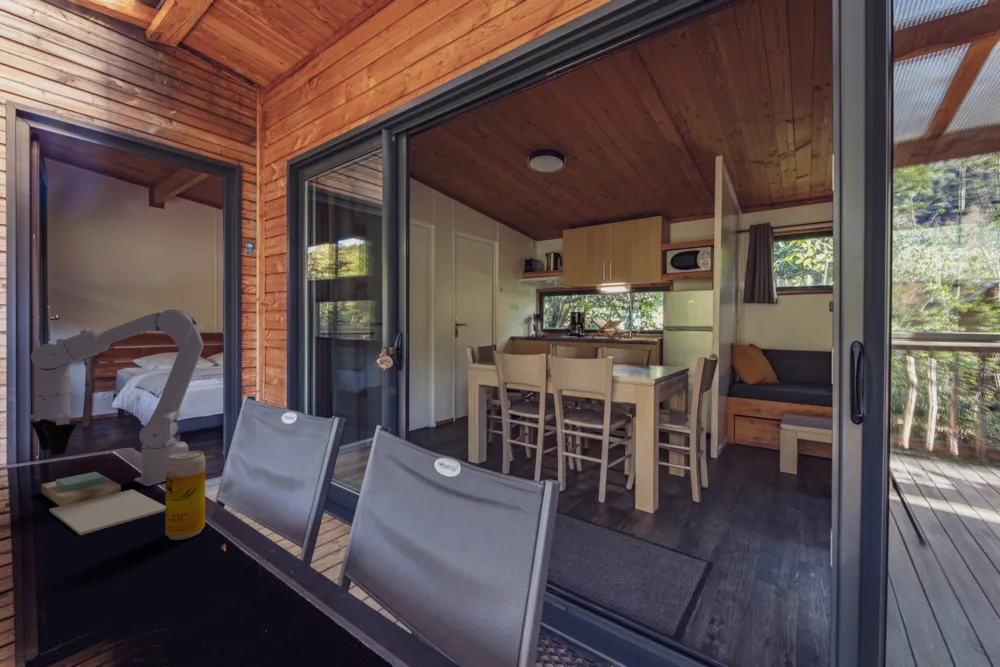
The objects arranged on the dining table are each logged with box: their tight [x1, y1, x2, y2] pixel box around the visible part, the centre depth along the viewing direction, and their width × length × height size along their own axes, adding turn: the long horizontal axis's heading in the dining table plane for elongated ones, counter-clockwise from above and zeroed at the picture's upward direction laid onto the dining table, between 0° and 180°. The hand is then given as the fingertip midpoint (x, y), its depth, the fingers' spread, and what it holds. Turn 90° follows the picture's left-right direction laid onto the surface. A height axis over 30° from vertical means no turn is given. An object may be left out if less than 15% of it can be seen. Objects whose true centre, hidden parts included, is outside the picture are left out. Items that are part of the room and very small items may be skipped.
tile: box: [55, 471, 107, 492], centre depth 102 cm, size 7×7×2 cm
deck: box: [40, 477, 122, 507], centre depth 102 cm, size 10×16×2 cm, turn 58°
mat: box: [48, 488, 166, 536], centre depth 92 cm, size 14×20×1 cm
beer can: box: [164, 450, 206, 541], centre depth 82 cm, size 6×6×15 cm
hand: (53, 451), depth 103 cm, fingers open, 7 cm apart
